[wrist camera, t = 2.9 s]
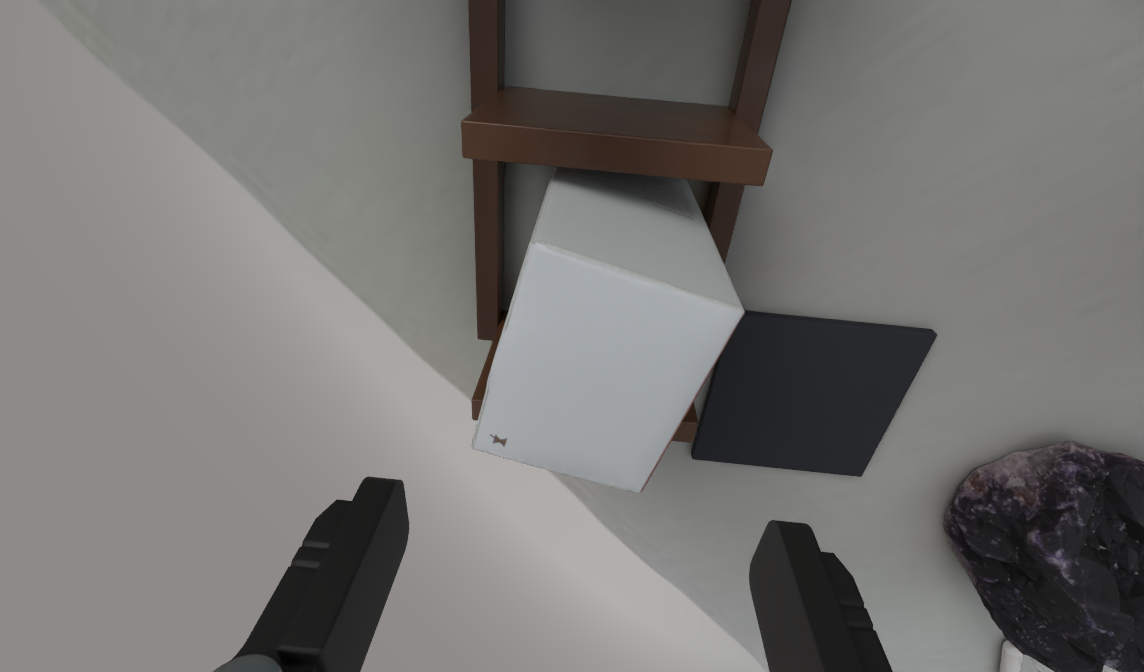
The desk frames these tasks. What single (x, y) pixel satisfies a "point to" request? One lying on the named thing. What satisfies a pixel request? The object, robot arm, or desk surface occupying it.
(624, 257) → the small box
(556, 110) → the rack
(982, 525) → the crystal cluster
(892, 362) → the mat
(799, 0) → the desk surface
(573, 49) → the desk surface
